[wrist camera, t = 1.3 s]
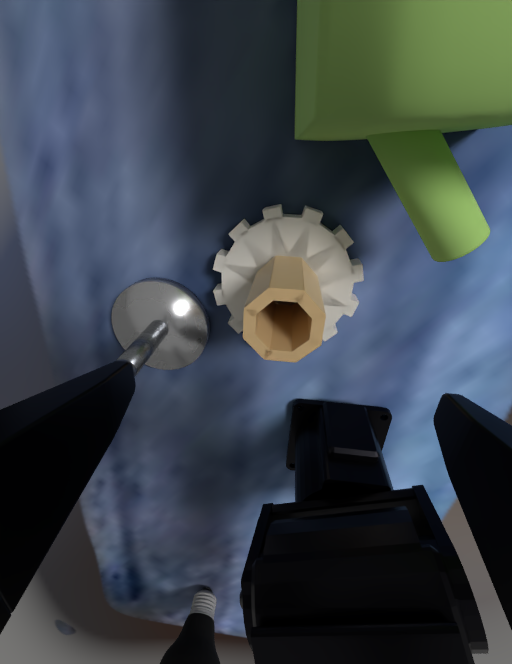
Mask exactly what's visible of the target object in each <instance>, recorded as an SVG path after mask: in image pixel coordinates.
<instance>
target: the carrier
mask: <svg viewBox="0 0 512 664" xmlns="http://www.w3.org/2000/svg"><path fill="white" fill-rule="evenodd" d="M112 326H113V330H114V333H115V335H116V337H117V339H118V341H119V343H120V344H121V346H122V347H123V348H124V349H125V351H124V352H123V353H122V355H121V356H120V357H119V358H118V359H117V360H116V361H127V362H130V363H131V364H132V366H133V372H134V377H135V376H136V375H137V374H138V372H139V371H140V370H141V368H142V367H143V366H144V364H145V365H148V366H150V367H153V368H157V369H163V370H173V369H179V368H182V367H185V366H187V365H189V364H191V363H193V362H194V361H195V360H196V359H197V358H198V357H199V356H200V355H201V353H202V351H203V350H204V348H205V346H206V344H207V341H208V339H209V334H210V322H209V318H208V314H207V312H206V309H205V308H204V306H203V304H202V303H201V301H200V300H199V299H198V297H197V296H196V295H195V294H194V293H193V292H191V291H190V290H189V289H188V288H186V287H185V286H183V285H181V284H179V283H177V282H175V281H172V280H169V279H164V278H147V279H143V280H140V281H138V282H135V283H134V284H132V285H131V286H129V287H128V288H127V289H125V290H124V291H123V292H122V293H121V294H120V295H119V296H118V298H117V299H116V301H115V303H114V306H113V309H112Z"/></svg>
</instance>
